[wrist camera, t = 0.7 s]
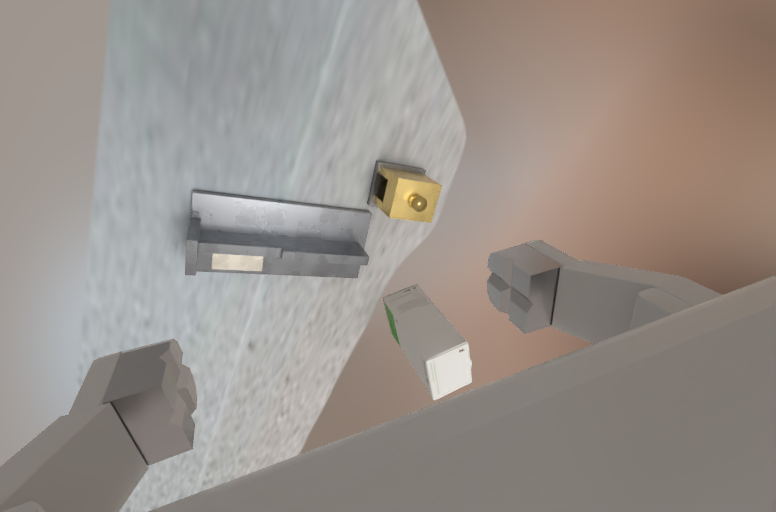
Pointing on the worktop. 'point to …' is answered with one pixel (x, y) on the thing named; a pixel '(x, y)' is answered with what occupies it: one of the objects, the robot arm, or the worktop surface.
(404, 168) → the thin grey square plate
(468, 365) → the skincare box
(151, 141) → the worktop surface
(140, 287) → the worktop surface
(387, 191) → the gold knobbed block
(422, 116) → the worktop surface
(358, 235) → the rail
